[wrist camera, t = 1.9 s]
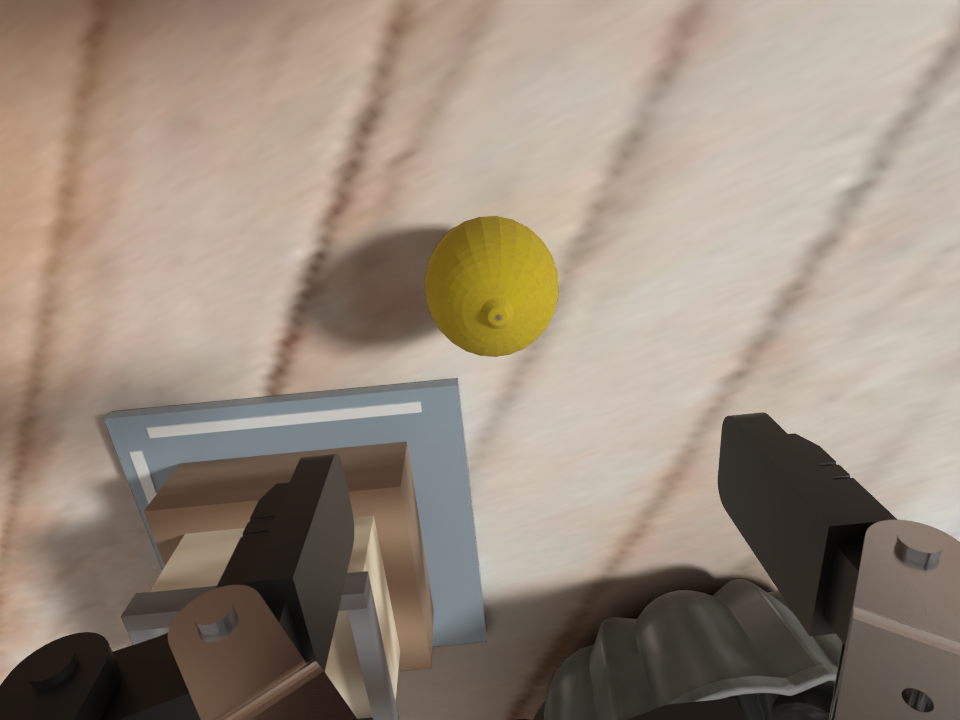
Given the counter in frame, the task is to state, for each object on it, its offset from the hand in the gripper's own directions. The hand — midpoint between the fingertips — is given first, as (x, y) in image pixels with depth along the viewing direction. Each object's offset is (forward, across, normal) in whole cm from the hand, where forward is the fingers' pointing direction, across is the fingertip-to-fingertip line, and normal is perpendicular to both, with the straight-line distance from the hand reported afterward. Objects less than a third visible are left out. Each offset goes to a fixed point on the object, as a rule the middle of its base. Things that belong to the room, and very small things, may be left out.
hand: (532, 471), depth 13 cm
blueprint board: (+18, +11, +15) cm, 26 cm away
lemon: (+18, 0, 0) cm, 18 cm away
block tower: (+18, +11, +15) cm, 26 cm away
